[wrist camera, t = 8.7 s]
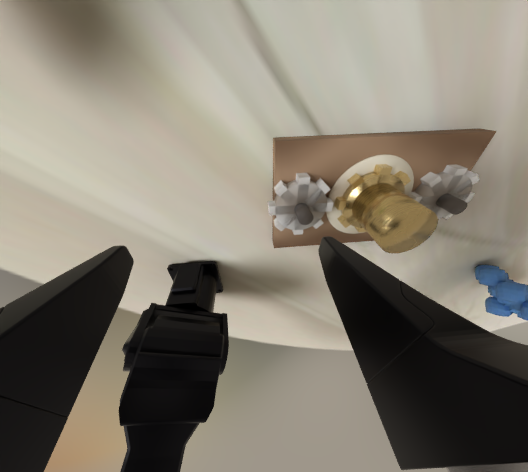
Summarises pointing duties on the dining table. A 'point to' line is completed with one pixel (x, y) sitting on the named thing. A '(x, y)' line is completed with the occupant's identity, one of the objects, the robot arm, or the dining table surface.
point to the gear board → (362, 162)
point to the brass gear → (385, 210)
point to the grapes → (503, 292)
